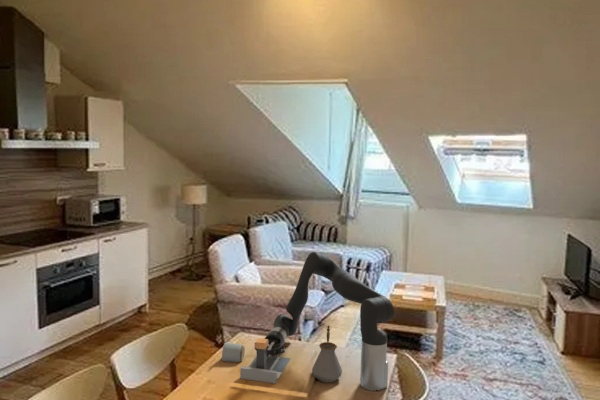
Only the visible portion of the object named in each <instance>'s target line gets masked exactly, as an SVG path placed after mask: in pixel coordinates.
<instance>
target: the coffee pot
mask: <svg viewBox="0 0 600 400" xmlns="http://www.w3.org/2000/svg"><path fill="white" fill-rule="evenodd" d="M325 329H326V341H325V342H321V343H319V345H318V346H319V348H320V352H319V354H318V356H317V358H316V360H315V362H314V363H313V366H312V369H311V371H312V374H313V376H314V377H315V378H316V379H317V380H318V381H320V382H322V383H333V382H336V381H337V380H338V379H339V378H340V377H341V376H342V374H343V370H342V369H343V368H342V366H341V365H340V362H339V358H338V356H337V354H336V349H337V347H338V346H337V344H335V343H333V342H330V336H331V335H330V331H331V325H328V324H327V326H326V327H325Z"/></svg>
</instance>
